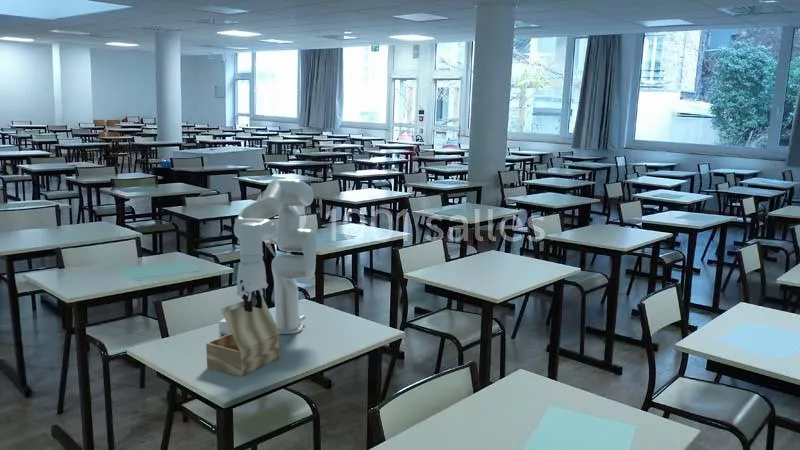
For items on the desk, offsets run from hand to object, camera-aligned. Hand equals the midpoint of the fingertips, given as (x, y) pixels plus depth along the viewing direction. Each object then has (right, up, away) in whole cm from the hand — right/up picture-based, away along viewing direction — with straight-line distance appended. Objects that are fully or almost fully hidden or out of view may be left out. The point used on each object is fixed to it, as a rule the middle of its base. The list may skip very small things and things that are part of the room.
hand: (253, 309), depth 219 cm
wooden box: (-5, -20, +6) cm, 22 cm away
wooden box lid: (-1, -5, +2) cm, 5 cm away
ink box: (-13, -18, +21) cm, 30 cm away
